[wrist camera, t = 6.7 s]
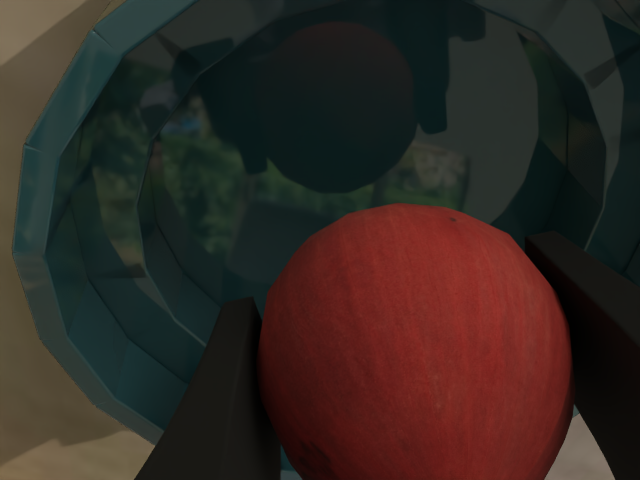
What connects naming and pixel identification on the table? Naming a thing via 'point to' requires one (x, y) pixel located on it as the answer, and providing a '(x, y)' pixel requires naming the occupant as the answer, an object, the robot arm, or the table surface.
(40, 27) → the table surface
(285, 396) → the onion
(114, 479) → the table surface
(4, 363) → the table surface
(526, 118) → the teal bowl
